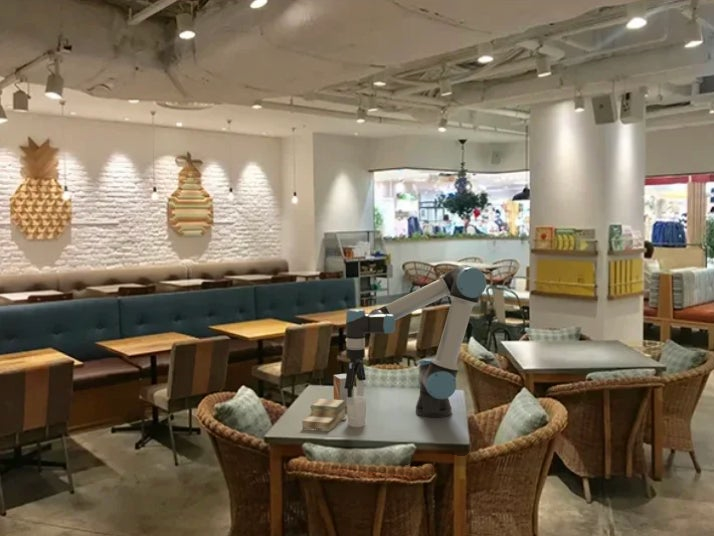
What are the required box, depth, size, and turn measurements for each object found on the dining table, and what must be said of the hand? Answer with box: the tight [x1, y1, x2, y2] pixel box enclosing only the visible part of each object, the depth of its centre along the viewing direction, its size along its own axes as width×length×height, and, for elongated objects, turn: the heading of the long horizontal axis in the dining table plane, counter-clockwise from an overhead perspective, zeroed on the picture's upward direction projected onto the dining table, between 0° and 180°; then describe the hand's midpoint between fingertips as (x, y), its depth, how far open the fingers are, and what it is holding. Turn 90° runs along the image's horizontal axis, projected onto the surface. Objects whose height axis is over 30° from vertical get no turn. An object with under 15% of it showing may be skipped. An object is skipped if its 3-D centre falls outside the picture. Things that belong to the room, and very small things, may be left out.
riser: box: [301, 398, 347, 432], centre depth 264 cm, size 13×20×7 cm, turn 163°
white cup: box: [346, 397, 367, 428], centre depth 261 cm, size 8×8×10 cm
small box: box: [332, 373, 347, 408], centre depth 290 cm, size 8×6×13 cm
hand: (355, 400), depth 261 cm, fingers open, 13 cm apart
